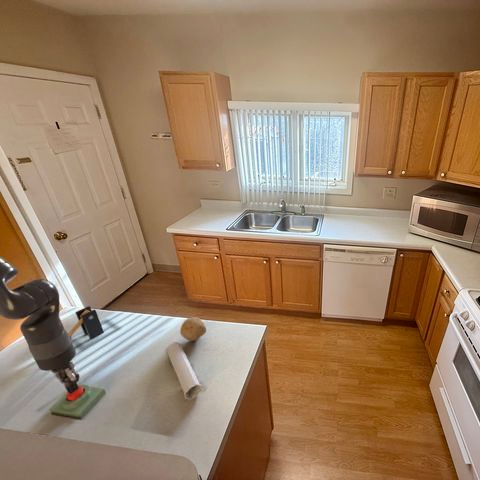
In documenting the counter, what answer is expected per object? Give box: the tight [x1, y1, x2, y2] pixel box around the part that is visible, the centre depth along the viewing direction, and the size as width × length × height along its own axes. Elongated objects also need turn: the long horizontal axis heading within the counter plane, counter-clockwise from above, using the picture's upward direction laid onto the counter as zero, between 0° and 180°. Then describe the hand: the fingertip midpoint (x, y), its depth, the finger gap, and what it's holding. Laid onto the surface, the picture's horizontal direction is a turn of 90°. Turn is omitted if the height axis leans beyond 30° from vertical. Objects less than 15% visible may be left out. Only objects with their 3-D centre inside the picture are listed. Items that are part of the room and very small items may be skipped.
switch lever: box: [67, 310, 90, 341], centre depth 96 cm, size 13×3×3 cm
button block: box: [48, 383, 107, 420], centre depth 78 cm, size 10×8×4 cm
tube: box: [166, 341, 203, 401], centre depth 90 cm, size 5×5×25 cm
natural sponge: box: [179, 316, 207, 342], centre depth 103 cm, size 9×9×10 cm
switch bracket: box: [75, 305, 105, 340], centre depth 100 cm, size 12×10×13 cm
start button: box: [65, 386, 84, 401], centre depth 77 cm, size 4×4×2 cm
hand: (73, 390), depth 76 cm, fingers closed
